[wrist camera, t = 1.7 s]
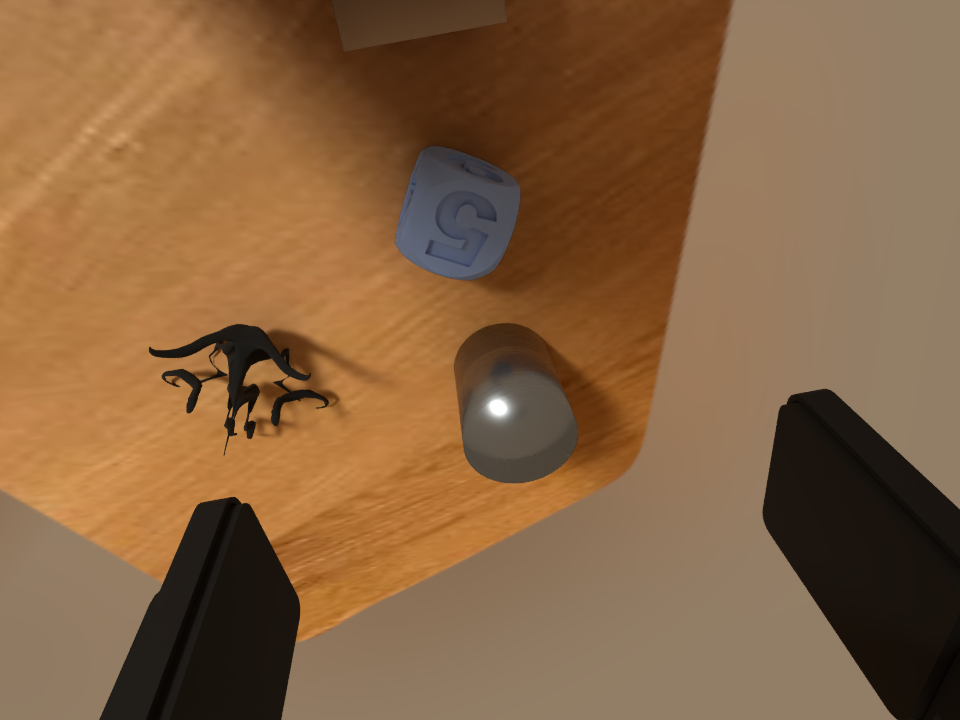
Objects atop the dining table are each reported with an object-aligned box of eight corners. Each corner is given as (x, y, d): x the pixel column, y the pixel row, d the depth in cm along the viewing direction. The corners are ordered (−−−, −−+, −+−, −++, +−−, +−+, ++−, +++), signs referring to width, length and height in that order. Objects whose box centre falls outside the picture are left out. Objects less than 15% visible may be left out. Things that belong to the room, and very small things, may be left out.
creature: (325, 420, 32) (344, 314, 27) (309, 506, 28) (328, 402, 23) (173, 397, 30) (161, 279, 25) (134, 485, 26) (110, 367, 21)
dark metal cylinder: (446, 333, 29) (453, 405, 23) (545, 315, 29) (574, 383, 24) (462, 411, 31) (473, 492, 26) (553, 395, 31) (581, 472, 26)
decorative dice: (395, 226, 25) (392, 262, 22) (423, 137, 24) (424, 160, 20) (479, 253, 27) (489, 291, 23) (512, 170, 25) (528, 197, 21)
